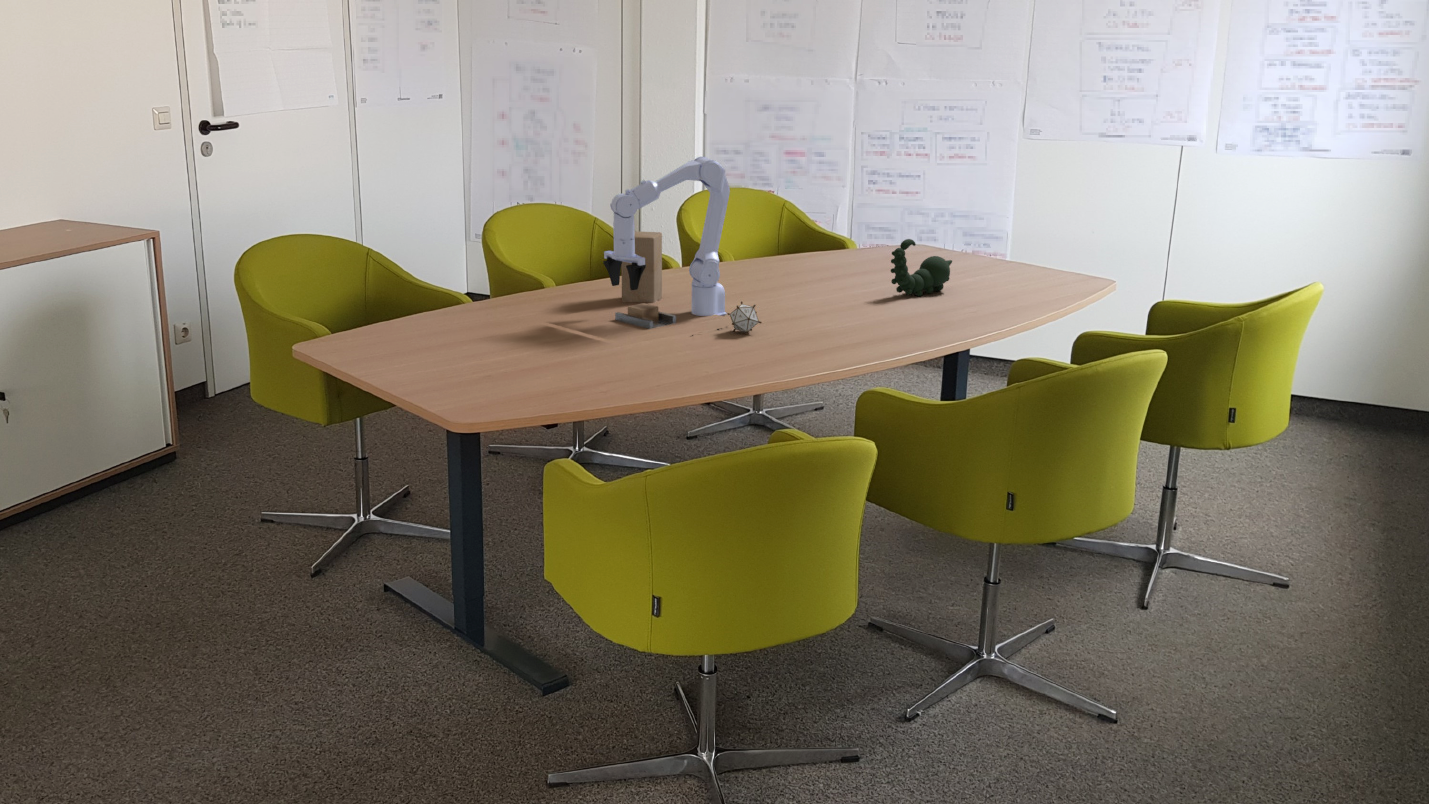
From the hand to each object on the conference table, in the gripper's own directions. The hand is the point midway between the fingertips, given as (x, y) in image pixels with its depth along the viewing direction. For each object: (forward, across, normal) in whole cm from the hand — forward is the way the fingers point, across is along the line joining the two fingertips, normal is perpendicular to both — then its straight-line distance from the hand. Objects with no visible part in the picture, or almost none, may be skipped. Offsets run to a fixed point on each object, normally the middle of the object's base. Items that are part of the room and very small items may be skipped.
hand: (624, 287), depth 332 cm
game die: (+10, +32, +14) cm, 36 cm away
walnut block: (+9, +6, +2) cm, 10 cm away
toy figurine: (+10, +38, +90) cm, 98 cm away
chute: (+10, +11, +2) cm, 14 cm away
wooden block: (+10, -15, +21) cm, 28 cm away
